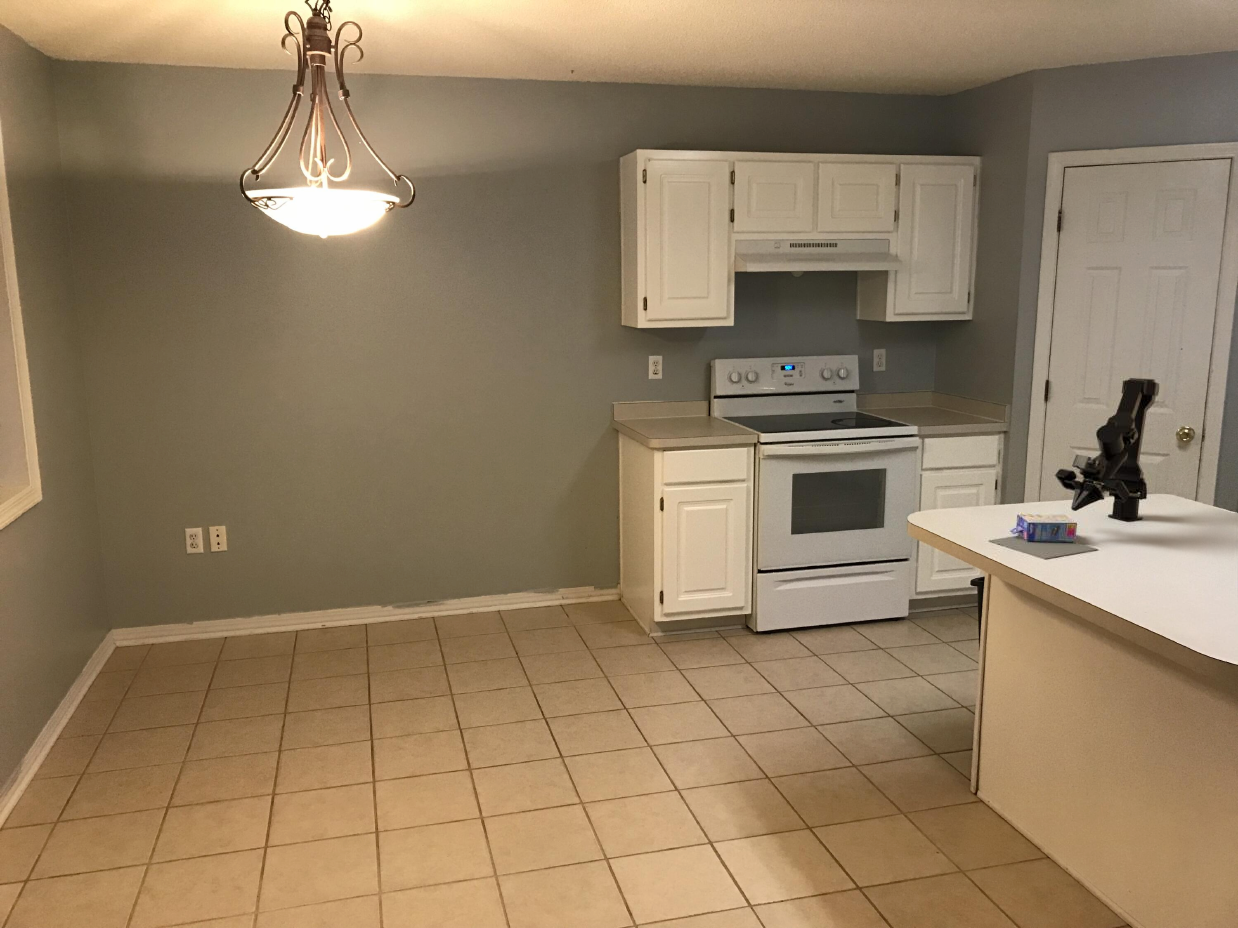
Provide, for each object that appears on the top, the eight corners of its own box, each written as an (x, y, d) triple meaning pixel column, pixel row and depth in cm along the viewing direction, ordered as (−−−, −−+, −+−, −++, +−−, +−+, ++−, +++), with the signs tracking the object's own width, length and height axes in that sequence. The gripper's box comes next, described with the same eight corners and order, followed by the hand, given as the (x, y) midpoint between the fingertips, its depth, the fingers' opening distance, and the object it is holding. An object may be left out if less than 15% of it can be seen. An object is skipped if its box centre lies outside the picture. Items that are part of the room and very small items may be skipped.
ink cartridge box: (1063, 534, 259) (1006, 532, 261) (1065, 514, 258) (1007, 511, 260) (1075, 543, 249) (1016, 541, 251) (1077, 522, 248) (1018, 520, 250)
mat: (1039, 533, 261) (1039, 532, 261) (1097, 550, 245) (1097, 548, 245) (988, 541, 253) (988, 540, 253) (1045, 559, 237) (1045, 558, 237)
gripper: (1063, 438, 259) (1029, 483, 256) (1125, 449, 242) (1090, 497, 240) (1081, 465, 263) (1048, 509, 261) (1144, 477, 247) (1109, 525, 244)
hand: (1073, 509), depth 251 cm, fingers closed
